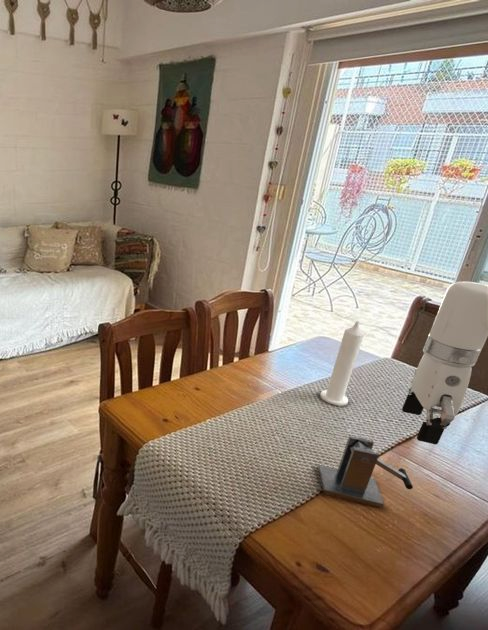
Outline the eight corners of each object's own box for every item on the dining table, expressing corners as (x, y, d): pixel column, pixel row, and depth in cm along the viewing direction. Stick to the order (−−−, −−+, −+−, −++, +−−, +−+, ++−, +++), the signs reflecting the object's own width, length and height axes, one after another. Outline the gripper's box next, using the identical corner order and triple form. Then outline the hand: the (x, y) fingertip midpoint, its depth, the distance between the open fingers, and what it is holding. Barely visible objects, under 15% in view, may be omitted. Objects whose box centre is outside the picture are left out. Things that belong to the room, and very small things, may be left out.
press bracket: (372, 481, 98) (388, 439, 93) (382, 508, 91) (400, 464, 86) (317, 468, 101) (330, 427, 97) (323, 493, 94) (337, 450, 90)
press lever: (399, 475, 94) (408, 468, 93) (407, 492, 90) (416, 485, 88) (348, 444, 95) (356, 437, 94) (353, 459, 91) (362, 451, 90)
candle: (324, 389, 133) (347, 313, 123) (350, 399, 128) (376, 321, 118) (316, 398, 128) (339, 320, 118) (343, 408, 124) (369, 328, 114)
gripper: (499, 377, 71) (458, 460, 78) (457, 334, 86) (426, 407, 92) (443, 367, 73) (408, 448, 80) (412, 327, 88) (385, 399, 95)
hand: (418, 426), depth 86 cm, fingers open, 9 cm apart
